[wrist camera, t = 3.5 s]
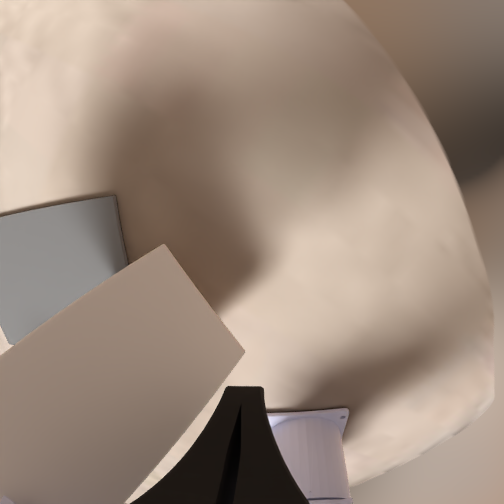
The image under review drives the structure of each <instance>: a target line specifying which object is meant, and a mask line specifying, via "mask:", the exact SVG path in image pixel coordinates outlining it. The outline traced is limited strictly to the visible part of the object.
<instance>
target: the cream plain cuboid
mask: <svg viewBox="0 0 504 504" xmlns="http://www.w3.org/2000/svg"><path fill="white" fill-rule="evenodd" d="M244 353H245V350H244V349H243V347H242V346H241V345H240V344H239V342H238V341H237V340H236V339H235V337H234V336H233V335H232V333H231V332H230V331H229V330H228V328H227V327H226V326H225V325H224V323H223V322H222V321H221V319H220V318H219V317H218V316H217V314H216V313H215V312H214V310H213V309H212V308H211V306H210V305H209V304H208V302H207V301H206V300H205V298H204V297H203V296H202V294H201V293H200V292H199V290H198V289H197V288H196V286H195V285H194V284H193V282H192V281H191V280H190V278H189V277H188V276H187V274H186V273H185V271H184V270H183V269H182V267H181V266H180V265H179V263H178V262H177V260H176V259H175V258H174V256H173V255H172V253H171V252H170V251H169V249H168V248H167V246H166V245H165V244H162V245H160V246H159V247H157V248H155V249H154V250H152V251H151V252H149V253H147V254H146V255H144V256H143V257H141V258H139V259H138V260H136V261H135V262H133V263H132V264H130V265H128V266H127V267H125V268H124V269H122V270H121V271H119V272H118V273H116V274H114V275H113V276H111V277H110V278H108V279H107V280H105V281H104V282H102V283H101V284H99V285H98V286H96V287H95V288H93V289H92V290H90V291H89V292H87V293H86V294H84V295H83V296H82V297H80V298H79V299H77V300H76V301H74V302H73V303H71V304H70V305H68V306H67V307H66V308H64V309H63V310H61V311H60V312H58V313H57V314H56V315H54V316H53V317H51V318H50V319H49V320H47V321H46V322H45V323H43V324H42V325H40V326H39V327H38V328H36V329H35V330H34V331H32V332H31V333H29V334H28V335H27V336H25V337H24V338H23V339H21V340H20V341H19V342H17V343H16V344H15V345H14V346H12V347H11V348H10V349H8V350H7V351H6V352H4V353H3V354H2V355H1V356H0V502H1V500H2V498H3V496H6V497H8V498H9V499H11V500H12V501H13V502H15V503H16V504H124V503H125V502H126V500H127V499H128V498H129V497H130V496H131V495H132V494H133V493H134V492H135V490H136V489H137V488H138V487H139V486H140V485H141V484H142V482H143V481H144V480H145V479H146V478H147V477H148V476H149V474H150V473H151V472H152V471H153V470H154V469H155V467H156V466H157V465H158V464H159V463H160V461H161V460H162V459H163V458H164V457H165V456H166V454H167V453H168V452H169V451H170V450H171V448H172V447H173V446H174V445H175V443H176V442H177V441H178V440H179V438H180V437H181V436H182V435H183V434H184V432H185V431H186V430H187V429H188V427H189V426H190V425H191V424H192V422H193V421H194V420H195V418H196V417H197V416H198V415H199V413H200V412H201V411H202V410H203V408H204V407H205V406H206V404H207V403H208V402H209V400H210V399H211V398H212V397H213V395H214V394H215V393H216V391H217V390H218V389H219V387H220V386H221V385H222V383H223V382H224V381H225V379H226V378H227V377H228V375H229V374H230V373H231V371H232V370H233V368H234V367H235V366H236V364H237V363H238V362H239V360H240V359H241V358H242V356H243V355H244Z"/></svg>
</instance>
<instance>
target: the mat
mask: <svg viewBox="0 0 504 504" xmlns="http://www.w3.org/2000/svg"><path fill="white" fill-rule="evenodd" d="M127 266H128V260H127V256H126V251H125V246H124V241H123V236H122V231H121V225H120V219H119V214H118V207H117V201H116V195H114V196H107V197H100V198H94V199H88V200H81V201H76V202H70V203H64V204H59V205H53V206H48V207H43V208H38V209H33V210H28V211H24V212H19V213H15V214H10V215H6V216H2V217H0V326H1V328H2V330H3V332H4V334H5V337H6V339H7V341H8V343H9V344H11V345H15V344H16V343H17V342H19V341H20V340H21V339H23V338H24V337H25V336H27V335H28V334H29V333H31V332H32V331H34V330H35V329H36V328H38V327H39V326H40V325H42V324H43V323H45V322H46V321H47V320H49V319H50V318H51V317H53V316H54V315H56V314H57V313H58V312H60V311H61V310H63V309H64V308H66V307H67V306H68V305H70V304H71V303H73V302H74V301H76V300H77V299H79V298H80V297H82V296H83V295H84V294H86V293H87V292H89V291H90V290H92V289H93V288H95V287H96V286H98V285H99V284H101V283H102V282H104V281H105V280H107V279H108V278H110V277H111V276H113V275H114V274H116V273H118V272H119V271H121V270H122V269H124V268H125V267H127Z"/></svg>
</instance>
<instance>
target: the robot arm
mask: <svg viewBox="0 0 504 504" xmlns="http://www.w3.org/2000/svg"><path fill="white" fill-rule="evenodd" d="M348 416H349V409H348V408H340V409H330V410H319V411H306V412H288V413H267V412H266V407H265V401H264V388H262V387H261V386H228V387H226V388H225V391H224V393H223V395H222V398H221V400H220V402H219V404H218V406H217V408H216V409H215V411H214V413H213V415H212V417H211V418H210V420H209V422H208V423H207V425H206V426H205V428H204V430H203V431H202V433H201V434H200V435H199V437H198V438H197V440H196V441H195V442H194V444H193V445H192V447H191V448H190V449H189V450H188V452H187V453H186V454H185V455H184V456H183V458H182V459H181V460H180V461H179V462H178V463H177V464H176V465H175V466H174V468H173V469H172V470H171V471H170V472H168V473H167V474H166V475H165V476H164V477H163V478H162V479H161V480H160V481H159V482H158V483H157V484H156V485H154V486H153V487H152V488H151V489H149V490H148V491H147V492H145V493H144V494H143V495H142V496H140V497H139V498H138V499H136V500H135V501H133V502H132V503H130V504H353V500H352V498H351V497H350V491H349V483H348V476H347V470H346V464H345V458H344V452H343V446H342V440H341V439H342V436H343V433H344V429H345V426H346V423H347V419H348ZM0 504H16V503H15V502H13V501H12V500H11V499H9V498H8V497H6V496H3V498H2V500H1V502H0Z"/></svg>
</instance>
